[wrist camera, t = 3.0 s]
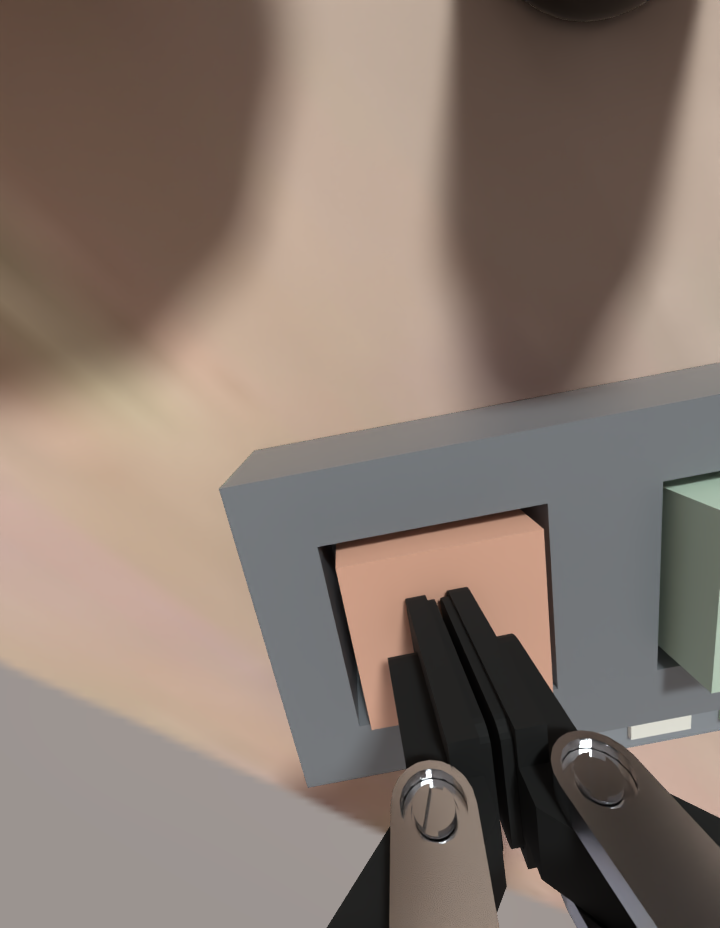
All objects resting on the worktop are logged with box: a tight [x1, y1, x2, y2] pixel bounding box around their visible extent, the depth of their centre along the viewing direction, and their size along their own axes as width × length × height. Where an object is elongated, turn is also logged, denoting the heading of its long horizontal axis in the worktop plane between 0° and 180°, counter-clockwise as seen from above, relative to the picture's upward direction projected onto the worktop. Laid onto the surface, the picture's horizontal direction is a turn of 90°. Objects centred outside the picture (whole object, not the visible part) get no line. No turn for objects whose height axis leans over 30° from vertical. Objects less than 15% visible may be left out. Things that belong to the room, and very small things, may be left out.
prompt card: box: [599, 710, 720, 748], centre depth 17 cm, size 12×4×1 cm, turn 100°
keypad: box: [219, 363, 720, 788], centre depth 13 cm, size 28×10×4 cm, turn 100°
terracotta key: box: [336, 509, 553, 730], centre depth 12 cm, size 5×5×3 cm
